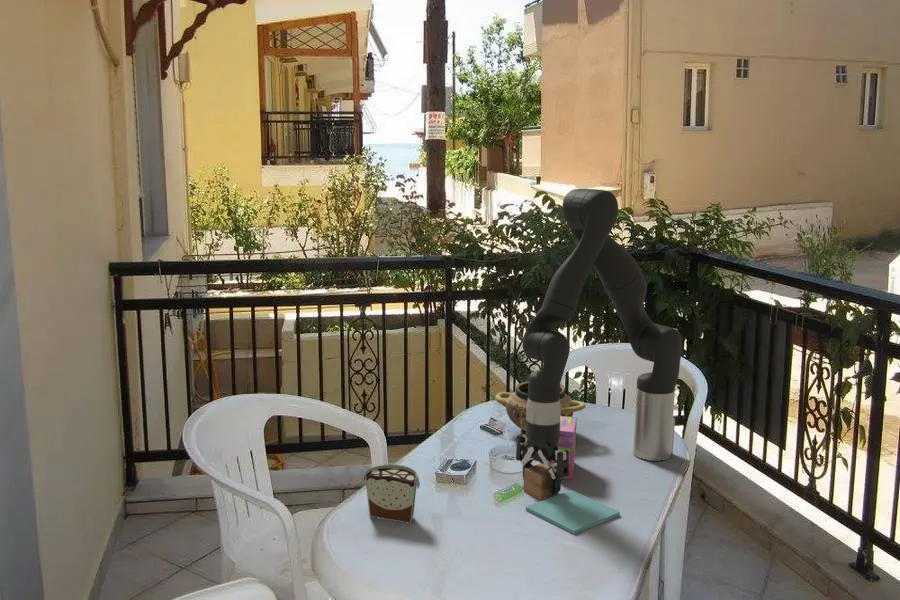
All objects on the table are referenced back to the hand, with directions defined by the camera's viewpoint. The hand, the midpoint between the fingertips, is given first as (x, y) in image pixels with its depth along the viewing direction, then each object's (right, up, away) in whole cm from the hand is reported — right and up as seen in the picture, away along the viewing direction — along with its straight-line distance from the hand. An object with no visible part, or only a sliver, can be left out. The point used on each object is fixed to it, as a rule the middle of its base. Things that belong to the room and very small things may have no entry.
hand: (541, 486), depth 191 cm
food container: (-32, -4, -11) cm, 34 cm away
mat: (+6, -3, -10) cm, 12 cm away
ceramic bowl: (+3, +6, +37) cm, 38 cm away
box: (+6, +1, +13) cm, 14 cm away
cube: (0, -1, 0) cm, 2 cm away
